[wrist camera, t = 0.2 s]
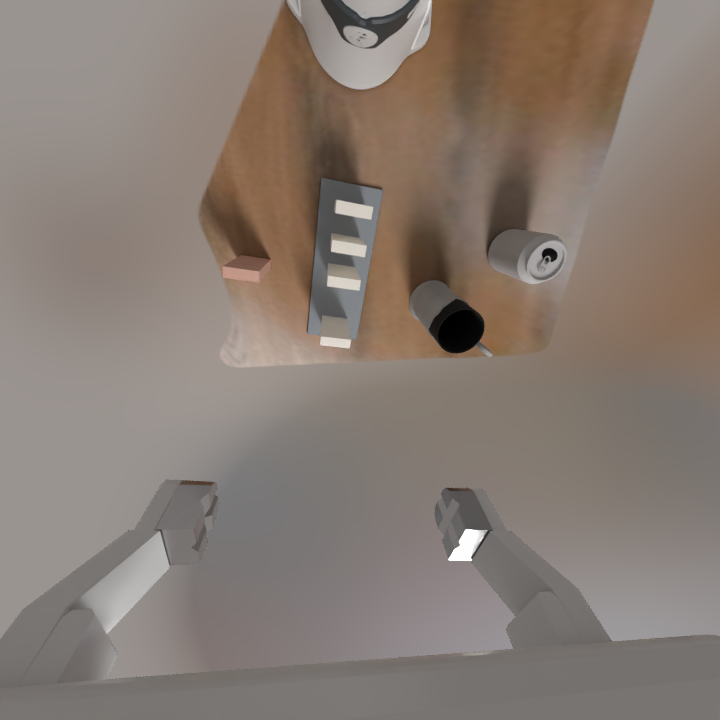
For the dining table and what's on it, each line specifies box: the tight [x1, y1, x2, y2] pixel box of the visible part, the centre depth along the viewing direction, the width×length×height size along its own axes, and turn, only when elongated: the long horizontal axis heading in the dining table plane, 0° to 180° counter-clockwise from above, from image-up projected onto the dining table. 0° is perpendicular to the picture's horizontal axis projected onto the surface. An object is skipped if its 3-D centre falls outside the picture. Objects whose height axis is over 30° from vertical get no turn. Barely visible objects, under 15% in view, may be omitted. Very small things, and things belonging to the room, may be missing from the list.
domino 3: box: [330, 233, 367, 257], centre depth 45 cm, size 2×5×10 cm, turn 80°
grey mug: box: [409, 280, 493, 357], centre depth 52 cm, size 9×14×15 cm, turn 52°
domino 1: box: [223, 255, 271, 282], centre depth 46 cm, size 2×5×10 cm, turn 80°
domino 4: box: [327, 263, 361, 291], centre depth 48 cm, size 2×5×10 cm, turn 81°
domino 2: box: [334, 200, 373, 220], centre depth 43 cm, size 2×5×10 cm, turn 81°
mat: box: [308, 178, 383, 339], centre depth 52 cm, size 27×10×1 cm, turn 170°
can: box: [488, 229, 567, 284], centre depth 48 cm, size 8×8×12 cm
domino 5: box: [320, 315, 351, 348], centre depth 52 cm, size 2×5×10 cm, turn 80°
